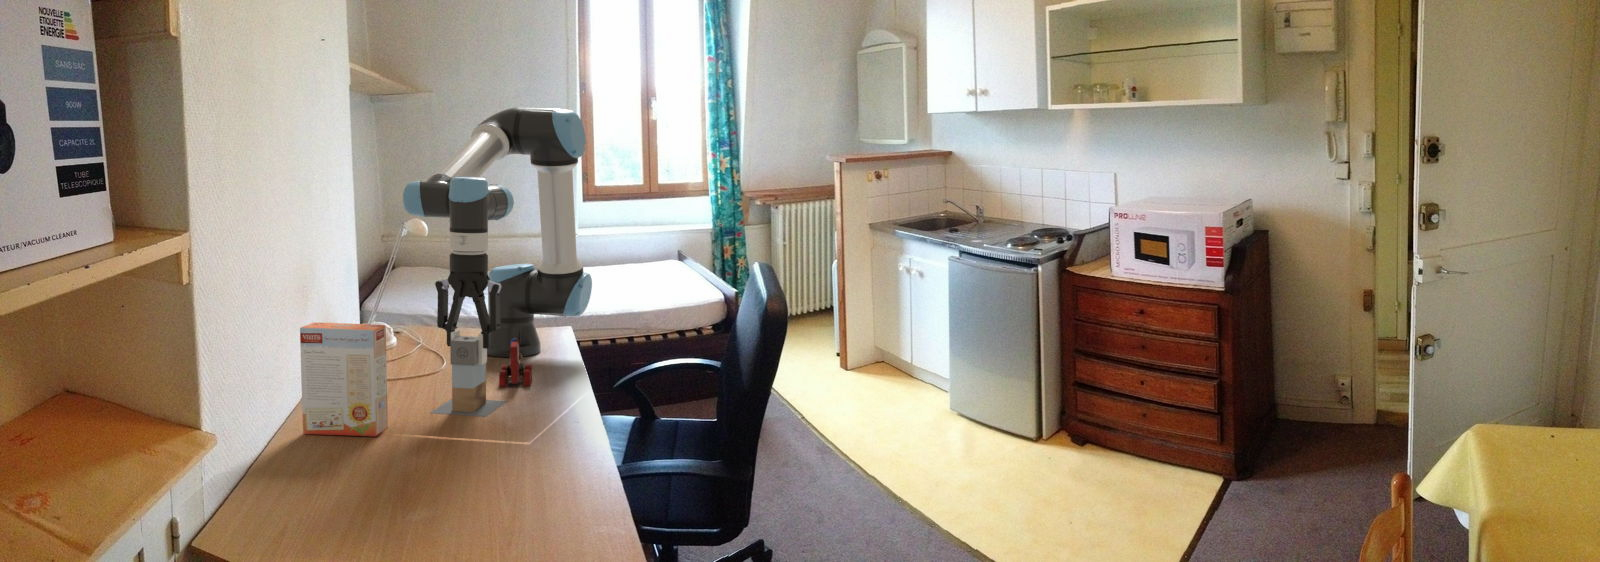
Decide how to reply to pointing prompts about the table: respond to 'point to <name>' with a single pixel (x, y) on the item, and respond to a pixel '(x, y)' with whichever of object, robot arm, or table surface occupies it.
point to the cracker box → (344, 379)
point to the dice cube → (464, 350)
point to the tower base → (468, 398)
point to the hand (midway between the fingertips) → (469, 362)
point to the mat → (482, 411)
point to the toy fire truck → (515, 368)
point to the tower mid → (468, 375)
